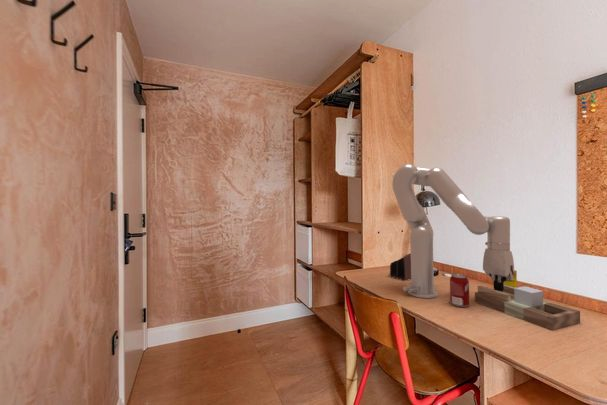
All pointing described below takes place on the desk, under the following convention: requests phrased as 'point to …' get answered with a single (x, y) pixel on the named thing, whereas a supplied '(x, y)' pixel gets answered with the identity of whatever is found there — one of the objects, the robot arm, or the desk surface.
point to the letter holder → (401, 268)
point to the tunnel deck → (527, 308)
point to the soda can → (459, 290)
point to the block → (528, 296)
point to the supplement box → (512, 281)
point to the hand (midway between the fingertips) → (498, 291)
